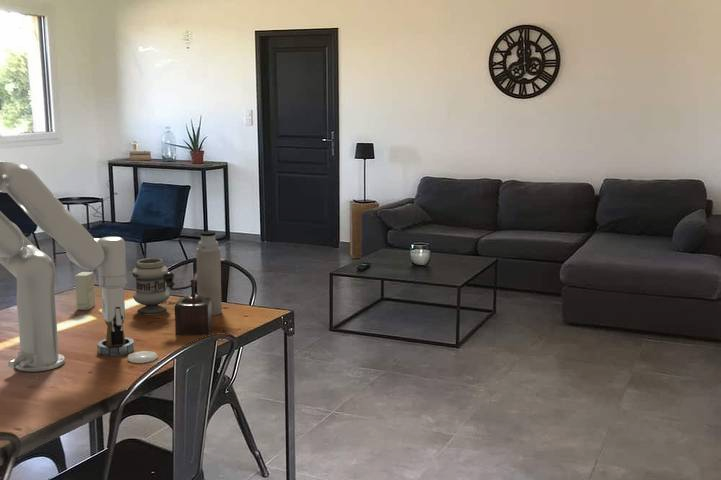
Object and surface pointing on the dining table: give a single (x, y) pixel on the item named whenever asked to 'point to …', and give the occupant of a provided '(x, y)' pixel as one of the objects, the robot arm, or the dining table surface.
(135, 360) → the pebble
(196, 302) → the pepper mill
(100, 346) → the holder ring
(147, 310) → the apothecary jar
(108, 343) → the cork
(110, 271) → the robot arm
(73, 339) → the dining table surface
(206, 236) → the thermos bottle
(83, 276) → the skincare box
